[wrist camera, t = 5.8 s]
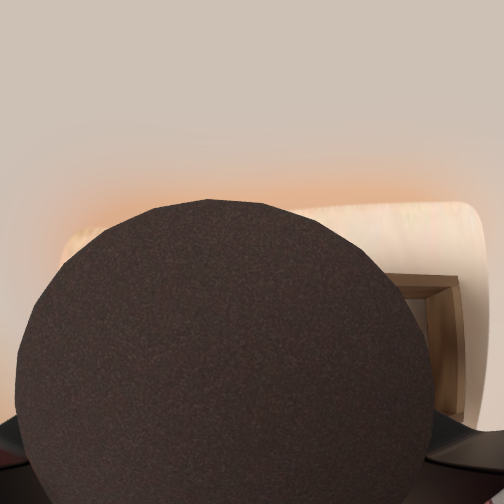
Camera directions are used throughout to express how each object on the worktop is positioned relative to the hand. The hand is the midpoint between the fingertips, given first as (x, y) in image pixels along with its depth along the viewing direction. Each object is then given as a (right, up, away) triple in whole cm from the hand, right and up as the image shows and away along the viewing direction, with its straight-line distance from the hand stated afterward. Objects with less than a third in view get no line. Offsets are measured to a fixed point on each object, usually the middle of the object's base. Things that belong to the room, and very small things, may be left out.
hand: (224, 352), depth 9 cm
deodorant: (-1, -5, +8) cm, 10 cm away
